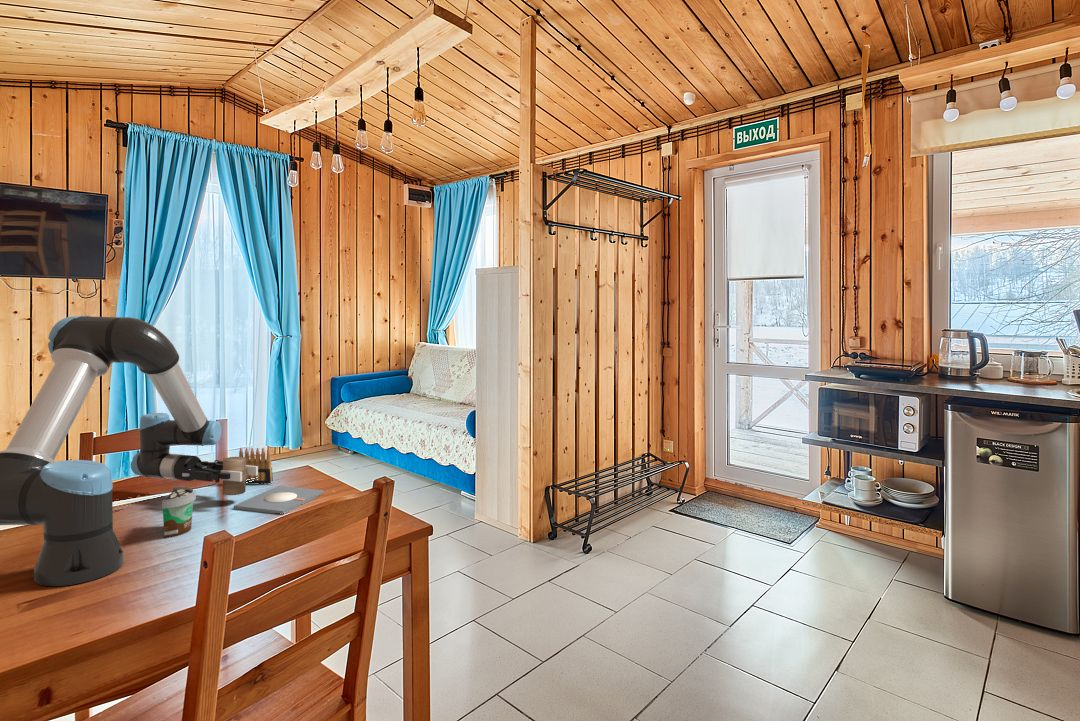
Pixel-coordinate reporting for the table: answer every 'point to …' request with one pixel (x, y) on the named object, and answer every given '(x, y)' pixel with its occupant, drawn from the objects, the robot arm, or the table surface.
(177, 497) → the food container
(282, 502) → the seat board
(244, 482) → the brown cylinder
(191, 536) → the table surface
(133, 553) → the table surface
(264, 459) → the ammunition clip
